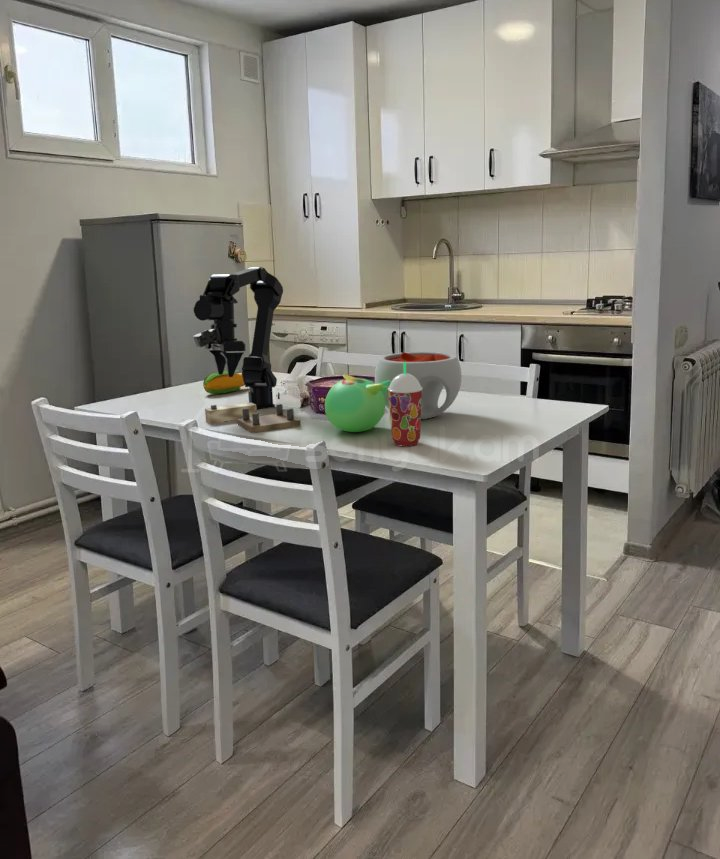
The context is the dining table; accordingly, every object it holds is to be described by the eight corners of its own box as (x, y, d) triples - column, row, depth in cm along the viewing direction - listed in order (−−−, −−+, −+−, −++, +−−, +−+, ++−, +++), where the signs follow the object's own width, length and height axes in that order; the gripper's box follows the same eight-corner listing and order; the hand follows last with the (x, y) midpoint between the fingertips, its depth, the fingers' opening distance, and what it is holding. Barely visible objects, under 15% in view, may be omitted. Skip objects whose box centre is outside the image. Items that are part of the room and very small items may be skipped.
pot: (400, 405, 231) (399, 346, 227) (474, 411, 219) (475, 349, 215) (360, 421, 211) (358, 357, 207) (439, 429, 199) (438, 361, 195)
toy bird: (333, 422, 211) (331, 370, 207) (394, 423, 208) (392, 369, 204) (319, 438, 193) (316, 381, 190) (385, 439, 191) (384, 381, 187)
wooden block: (252, 415, 224) (251, 399, 223) (257, 418, 221) (256, 401, 220) (205, 422, 218) (204, 405, 217) (210, 424, 214) (208, 407, 213)
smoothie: (421, 438, 190) (420, 358, 185) (425, 447, 182) (424, 364, 177) (387, 440, 190) (385, 360, 185) (390, 448, 181) (388, 365, 177)
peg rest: (283, 417, 219) (282, 402, 218) (300, 425, 208) (299, 409, 207) (237, 424, 212) (236, 408, 211) (252, 432, 202) (251, 416, 201)
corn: (196, 372, 256) (243, 364, 271) (197, 394, 258) (244, 385, 273) (210, 376, 252) (257, 367, 266) (211, 398, 254) (257, 389, 268)
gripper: (186, 319, 218) (188, 374, 221) (205, 320, 202) (207, 379, 204) (224, 319, 223) (225, 372, 226) (245, 320, 207) (246, 377, 209)
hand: (225, 375), depth 216 cm, fingers open, 9 cm apart
